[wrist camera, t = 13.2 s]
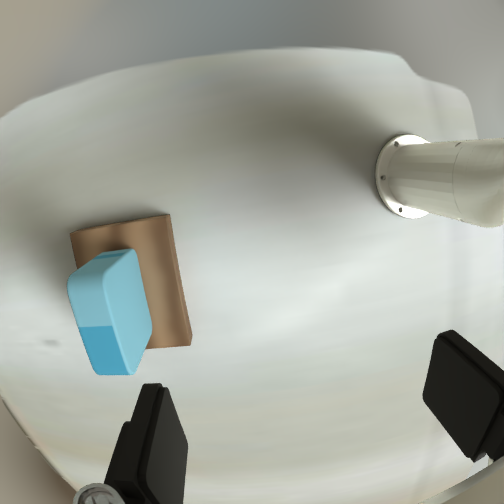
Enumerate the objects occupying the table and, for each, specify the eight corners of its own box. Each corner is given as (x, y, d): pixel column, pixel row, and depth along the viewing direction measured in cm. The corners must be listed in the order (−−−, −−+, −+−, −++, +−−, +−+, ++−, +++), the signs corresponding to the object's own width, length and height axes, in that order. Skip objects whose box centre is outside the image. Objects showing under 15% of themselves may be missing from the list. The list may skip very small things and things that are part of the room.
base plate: (169, 214, 40) (165, 217, 37) (192, 335, 45) (190, 345, 42) (79, 229, 39) (69, 233, 37) (108, 341, 44) (102, 350, 41)
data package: (104, 249, 38) (62, 279, 26) (135, 245, 38) (101, 274, 26) (124, 331, 41) (97, 380, 29) (154, 329, 41) (133, 381, 29)
